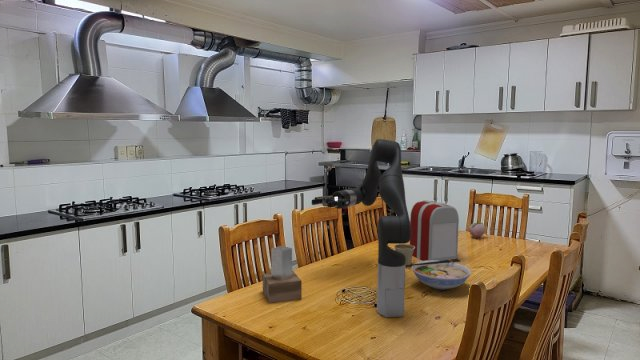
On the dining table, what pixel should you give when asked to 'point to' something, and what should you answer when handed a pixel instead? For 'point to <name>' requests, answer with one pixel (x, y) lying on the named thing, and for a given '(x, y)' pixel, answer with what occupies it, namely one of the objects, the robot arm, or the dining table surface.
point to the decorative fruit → (477, 229)
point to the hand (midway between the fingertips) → (320, 203)
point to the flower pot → (405, 251)
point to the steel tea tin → (281, 262)
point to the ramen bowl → (441, 273)
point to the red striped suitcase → (434, 231)
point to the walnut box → (282, 288)
